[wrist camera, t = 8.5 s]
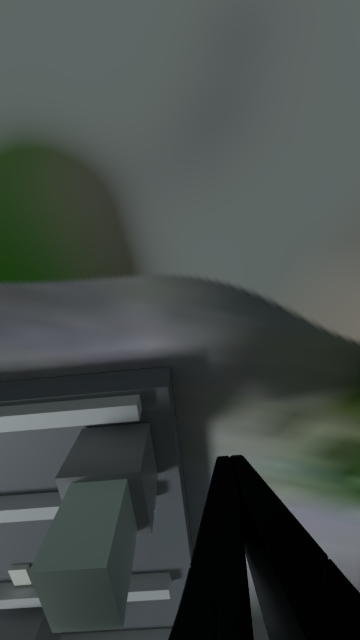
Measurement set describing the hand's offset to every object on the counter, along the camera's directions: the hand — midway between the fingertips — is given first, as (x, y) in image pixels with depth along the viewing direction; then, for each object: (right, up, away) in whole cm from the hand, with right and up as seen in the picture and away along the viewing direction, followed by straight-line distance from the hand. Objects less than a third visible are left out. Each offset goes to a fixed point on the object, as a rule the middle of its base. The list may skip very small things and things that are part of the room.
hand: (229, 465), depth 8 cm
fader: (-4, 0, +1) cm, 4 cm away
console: (-7, -4, +4) cm, 9 cm away
